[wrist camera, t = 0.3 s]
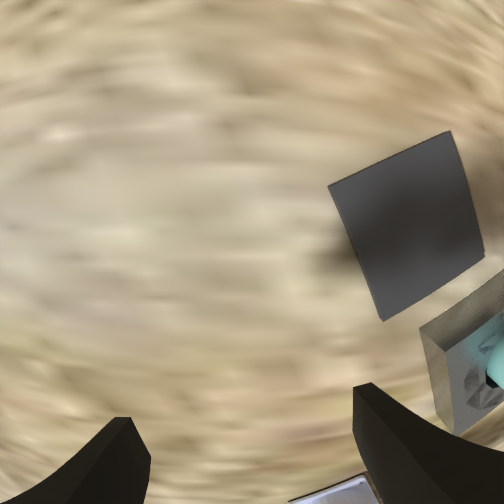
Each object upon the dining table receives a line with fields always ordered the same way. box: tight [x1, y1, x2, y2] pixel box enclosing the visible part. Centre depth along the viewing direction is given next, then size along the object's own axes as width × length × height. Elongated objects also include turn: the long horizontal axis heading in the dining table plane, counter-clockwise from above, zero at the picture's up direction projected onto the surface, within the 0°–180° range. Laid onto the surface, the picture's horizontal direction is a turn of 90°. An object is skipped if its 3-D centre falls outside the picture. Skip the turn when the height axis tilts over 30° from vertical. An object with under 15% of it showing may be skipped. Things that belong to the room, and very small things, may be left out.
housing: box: [419, 270, 504, 436], centre depth 19 cm, size 10×12×4 cm
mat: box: [327, 131, 485, 322], centre depth 18 cm, size 9×9×1 cm
